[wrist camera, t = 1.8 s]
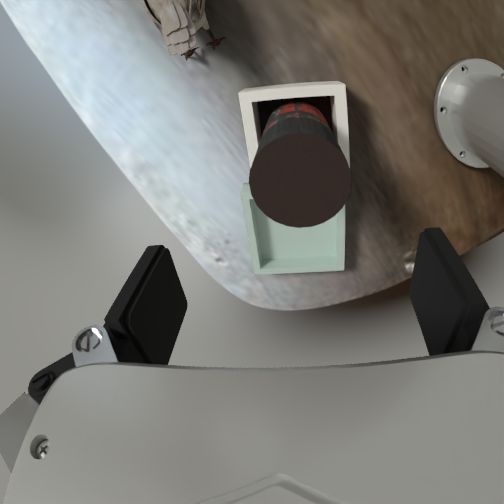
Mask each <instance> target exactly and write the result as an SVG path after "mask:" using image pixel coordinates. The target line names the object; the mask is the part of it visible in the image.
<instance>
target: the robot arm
mask: <svg viewBox="0 0 504 504" xmlns="http://www.w3.org/2000/svg"><path fill="white" fill-rule="evenodd" d="M461 68H462V69H461ZM441 107H442V110H441V111H440V108H441ZM434 117H435V124H436V127H437V131H438V134H439V136H440V138H441V140H442V142H443V144H444V145H445V147H446V148H447V150H448V151H449V152H450V153H451V154H452V155H453V156H454V157H456V158H457V159H458V160H459V161H461V162H463V163H464V164H466V165H468V166H472V167H475V168H488V167H491V168H492V169H494V170H495V171H496V172H497V173H499V174H500V175H501V176H503V177H504V70H503V69H502V68H501V67H499V66H498V65H496V64H495V63H493V62H490V61H487V60H485V59H478V58H468V59H464V60H461V61H459V62H457V63H455V64H454V65H452V66H451V67H450V68H449V69H448V70H447V71H446V72H445V73H444V75H443V77H442V78H441V80H440V82H439V84H438V87H437V89H436V94H435V99H434ZM460 152H461V153H460ZM409 294H410V299H411V301H412V304H413V307H414V310H415V313H416V316H417V319H418V322H419V324H420V327H421V330H422V333H423V336H424V339H425V343H426V346H427V349H428V352H429V355H430V356H424V357H416V358H407V359H399V360H390V361H380V362H370V363H359V364H345V365H330V366H312V367H284V368H283V367H281V368H225V367H195V366H176V365H168V362H169V359H170V357H171V354H172V351H173V348H174V345H175V342H176V339H177V336H178V333H179V330H180V327H181V324H182V322H183V319H184V316H185V313H186V310H187V300H186V297H185V294H184V291H183V289H182V286H181V283H180V280H179V277H178V275H177V272H176V269H175V266H174V263H173V260H172V257H171V254H170V251H169V250H168V249H167V248H165V247H164V246H163V245H154V246H148V247H147V248H146V250H145V252H144V253H143V255H142V256H141V258H140V260H139V261H138V263H137V264H136V266H135V268H134V269H133V271H132V273H131V274H130V276H129V277H128V279H127V281H126V282H125V284H124V286H123V288H122V289H121V291H120V293H119V294H118V296H117V298H116V300H115V301H114V303H113V305H112V306H111V308H110V310H109V312H108V314H107V315H106V317H105V319H104V320H105V324H104V326H103V327H102V326H100V325H91V326H88V327H86V328H84V329H83V330H81V331H80V332H79V333H78V334H77V335H76V336H75V338H74V340H73V342H72V353H70V354H69V355H67V356H65V357H63V358H61V359H60V360H58V361H56V362H54V363H53V364H51V365H49V366H48V367H46V368H44V369H42V370H41V371H39V372H38V373H37V374H35V375H34V377H33V378H32V379H31V381H30V383H29V387H28V392H29V393H28V394H25V392H24V393H23V394H22V395H21V396H20V397H19V398H18V399H16V401H14V402H13V403H12V404H11V405H10V406H9V407H8V408H7V409H6V410H5V411H4V412H3V413H2V414H1V415H0V453H1V454H2V456H3V458H4V460H5V462H6V464H7V466H8V468H9V470H10V471H11V473H12V474H11V477H10V480H9V484H8V487H7V491H6V494H5V498H4V502H3V504H504V308H502V307H493V308H489V306H488V304H487V302H486V300H485V298H484V297H483V295H482V293H481V291H480V290H479V288H478V286H477V284H476V283H475V281H474V279H473V278H472V276H471V274H470V273H469V272H468V269H467V268H466V266H465V265H464V263H463V262H462V260H461V258H460V257H459V255H458V254H457V252H456V251H455V249H454V247H453V246H452V244H451V243H450V241H449V240H448V239H447V237H446V236H445V234H444V233H443V231H442V230H441V229H440V228H426V229H425V230H424V232H421V233H420V235H419V241H418V247H417V253H416V259H415V264H414V270H413V275H412V280H411V285H410V290H409Z"/></svg>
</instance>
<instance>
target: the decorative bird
mask: <svg viewBox="0 0 504 504" xmlns="http://www.w3.org/2000/svg"><path fill="white" fill-rule="evenodd" d="M143 3H144V6H145V8H146V10H147V12H148V14H149V15H150V17H151V19H152V21H153V22H154V24H155V25H156V26H157V28H158V29H159V30H160V32H161V34H162V35H163V36H164V40H165V43H166V45H167V46H168V49H169V53H170V55H171V56H172V55H175V54H177V53H178V54H181V56H182V55H185V56H186V57H185V58H186V60H187V59H188V57H190V56H192V55H193V53H194V51H195V50H196V49H197V48H198V47H197V48H194V49H192V48H193V47H194V46H196V44H197V42H196V38H195V35H194V34H195V33H196V31H197V30H198V29H200V28H201V27H203V28H204V29H205V30H206V31H207V32H208V33H209V35H210V37H211V39H212V41H213V42H209V43H208V44H209V45H212V46H213V48H214V50H215V46H218V45H219V44H220V42H221V40H222V39H223V38H224V37H223V38H220V39H219V40H218V41H217V39H215V38H214V36H213V34H212V32H211V30H210V29H209V25H208V22H207V19H206V15H205V11H204V9H205V0H143ZM208 44H207V45H208ZM207 45H206V46H207ZM189 48H190V49H192V50H189ZM185 52H186V53H185Z"/></svg>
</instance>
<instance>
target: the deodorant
mask: <svg viewBox="0 0 504 504" xmlns="http://www.w3.org/2000/svg"><path fill="white" fill-rule="evenodd" d="M249 186H250V191H251V195H252V197H253V199H254V201H255V203H256V205H257V206H258V208H259V209H260V210H261V211H262V212H263V213H264V214H265V215H266V216H267V217H269V218H270V219H272V220H273V221H275V222H277V223H280V224H282V225H285V226H289V227H297V228H303V227H313V226H316V225H319V224H322V223H324V222H326V221H328V220H329V219H331V218H333V217H334V216H335V215H336V214H337V213H338V212H339V211H340V210H341V209H342V208H343V206H344V205H345V203H346V201H347V199H348V198H349V194H350V190H351V186H352V180H351V171H350V168H349V165H348V162H347V160H346V158H345V156H344V154H343V152H342V150H341V148H340V146H339V144H338V142H337V140H336V138H335V136H334V134H333V133H332V131H331V129H330V127H329V125H328V123H327V121H326V120H325V118H324V116H323V114H322V113H321V112H320V110H319V109H318V108H317V107H316V106H314V105H313V104H312V103H310V102H307V101H305V100H299V99H294V100H287V101H285V102H282V103H281V104H279V105H278V106H276V107H275V108H274V110H273V111H272V112H271V114H270V116H269V119H268V121H267V124H266V127H265V130H264V132H263V135H262V138H261V141H260V143H259V146H258V149H257V152H256V155H255V157H254V160H253V163H252V166H251V169H250V175H249Z"/></svg>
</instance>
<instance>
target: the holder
mask: <svg viewBox="0 0 504 504" xmlns="http://www.w3.org/2000/svg"><path fill="white" fill-rule="evenodd" d="M238 94H239V100H240V106H241V112H242V118H243V124H244V130H245V137H246V143H247V149H248V156H249V162H250V168H251V166H252V163H253V160H254V157H255V155H256V152H257V149H258V146H259V143H260V141H261V138H262V133H261V126H260V119H259V112H258V106H257V101H265V100H275V99H286V98H298V97H314V96H330V104H331V116H332V129H333V134H334V136H335V138H336V140H337V142H338V144H339V146H340V148H341V150H342V152H343V154H344V156H345V158H346V160H347V162H348V165H349V168H350V157H349V133H348V115H347V101H346V89H345V84H343V83H341V82H339V81H327V82H307V83H293V84H281V85H271V86H262V87H253V88H246V89H243V90H242V91H240V92H239V93H238Z"/></svg>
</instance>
